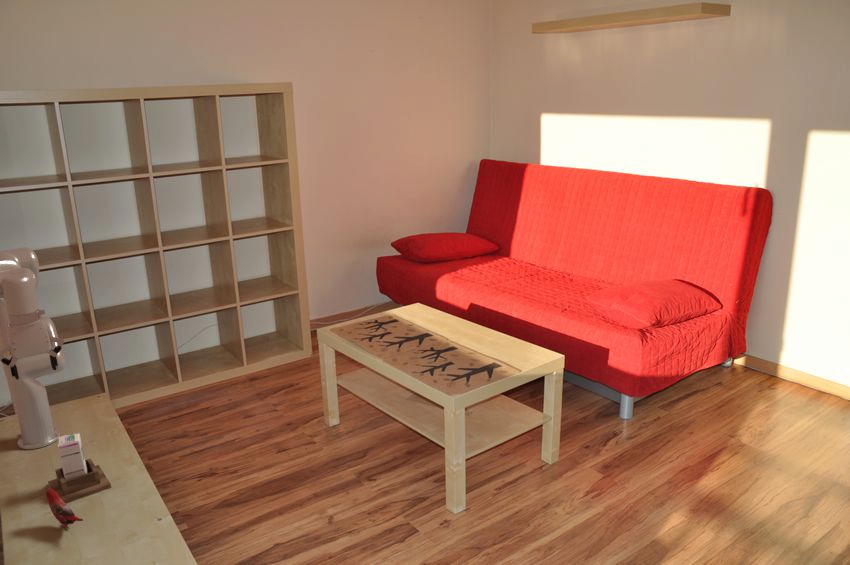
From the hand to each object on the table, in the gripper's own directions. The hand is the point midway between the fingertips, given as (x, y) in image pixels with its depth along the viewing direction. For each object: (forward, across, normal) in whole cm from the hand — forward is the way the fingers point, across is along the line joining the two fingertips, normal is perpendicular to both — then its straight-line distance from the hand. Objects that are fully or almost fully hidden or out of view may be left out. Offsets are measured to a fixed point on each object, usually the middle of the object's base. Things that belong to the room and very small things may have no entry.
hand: (35, 373), depth 197 cm
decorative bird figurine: (+33, +3, +33) cm, 47 cm away
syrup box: (+32, -4, +12) cm, 34 cm away
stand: (+33, -4, +12) cm, 35 cm away
